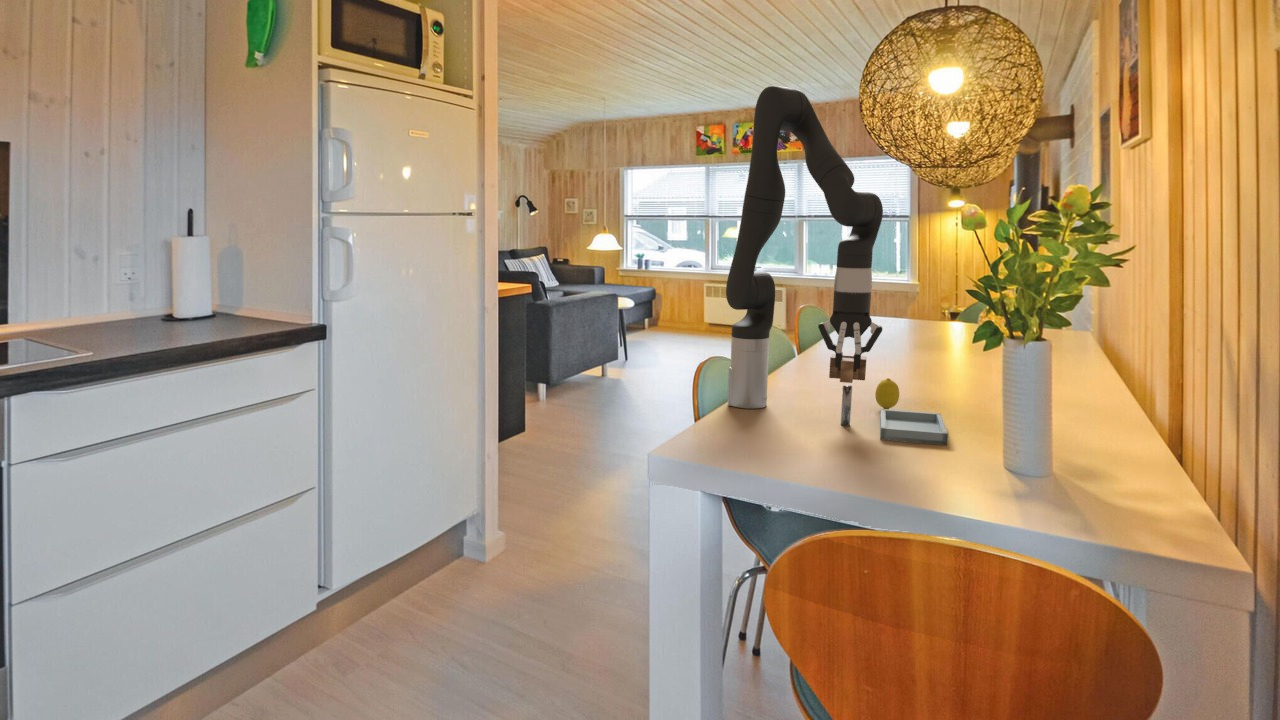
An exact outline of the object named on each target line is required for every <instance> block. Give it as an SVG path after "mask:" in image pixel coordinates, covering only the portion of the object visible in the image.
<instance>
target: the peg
mask: <svg viewBox="0 0 1280 720" xmlns="http://www.w3.org/2000/svg"><path fill="white" fill-rule="evenodd" d="M852 394H853V385H850V384H843V385H842V395H841V398H842V399H841V413H840V414H841V416H840V426H842V427H850V426H851V413H852V412H851V411H852V398H853V397H852Z"/></svg>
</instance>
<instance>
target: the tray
mask: <svg viewBox="0 0 1280 720" xmlns="http://www.w3.org/2000/svg"><path fill="white" fill-rule="evenodd" d="M879 413H880V416H879V436H880V437H879V438H880V439H879V440H880V441H889V440H891V441H892V442H901V441H902V442H903V443H912V442H913V444H925V445H936V446H937V445H938V446H948V440H949V439H948V438H949V431H948V430H947V427H946V424H945V422H944V419H943V416H942V413H936V412H926V411H925V412H924V411H914V410H913V411H910V410H900V409H899V410H898V409H884V408H880V412H879Z"/></svg>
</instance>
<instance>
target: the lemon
mask: <svg viewBox="0 0 1280 720" xmlns="http://www.w3.org/2000/svg"><path fill="white" fill-rule="evenodd" d="M899 400H900V388H899V386H898V384H897V383H896V382H895V381H894V380H892V379H891V378H889V377H888V378H886V379H884V380H882V381H880V382H878V385H877V386H876V389H875V401H876V403H877V404H878V405H879V406H880V407H881V408H882V409H888V410H890V409H892V408H894V407H895V406H896V405H897V404H898V403H899Z"/></svg>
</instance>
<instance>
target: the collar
mask: <svg viewBox="0 0 1280 720" xmlns="http://www.w3.org/2000/svg"><path fill="white" fill-rule="evenodd" d="M835 357H836V354H831V356H830V358H829V359H830V360H829V374H828V376H829V377H828V378H829V379H839V383H846V384H847V383H848V384H852V383H853V381H854V380H855V381H866V374H867V373H866V370H867V359H868V358H867V356H862V355H861V361H860V368H859V369H856V372H853V367H854V355H846V354H845V355H844V354H843V357H842V360H841V371H838V368H836V367H835Z"/></svg>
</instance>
